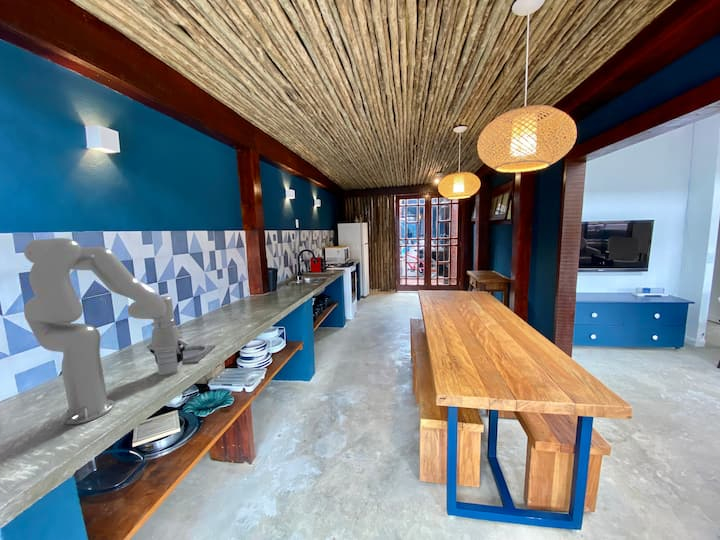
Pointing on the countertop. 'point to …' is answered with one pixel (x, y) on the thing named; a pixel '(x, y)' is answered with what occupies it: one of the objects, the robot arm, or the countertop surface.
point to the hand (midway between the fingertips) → (169, 361)
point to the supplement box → (167, 360)
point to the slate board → (195, 351)
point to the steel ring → (197, 353)
